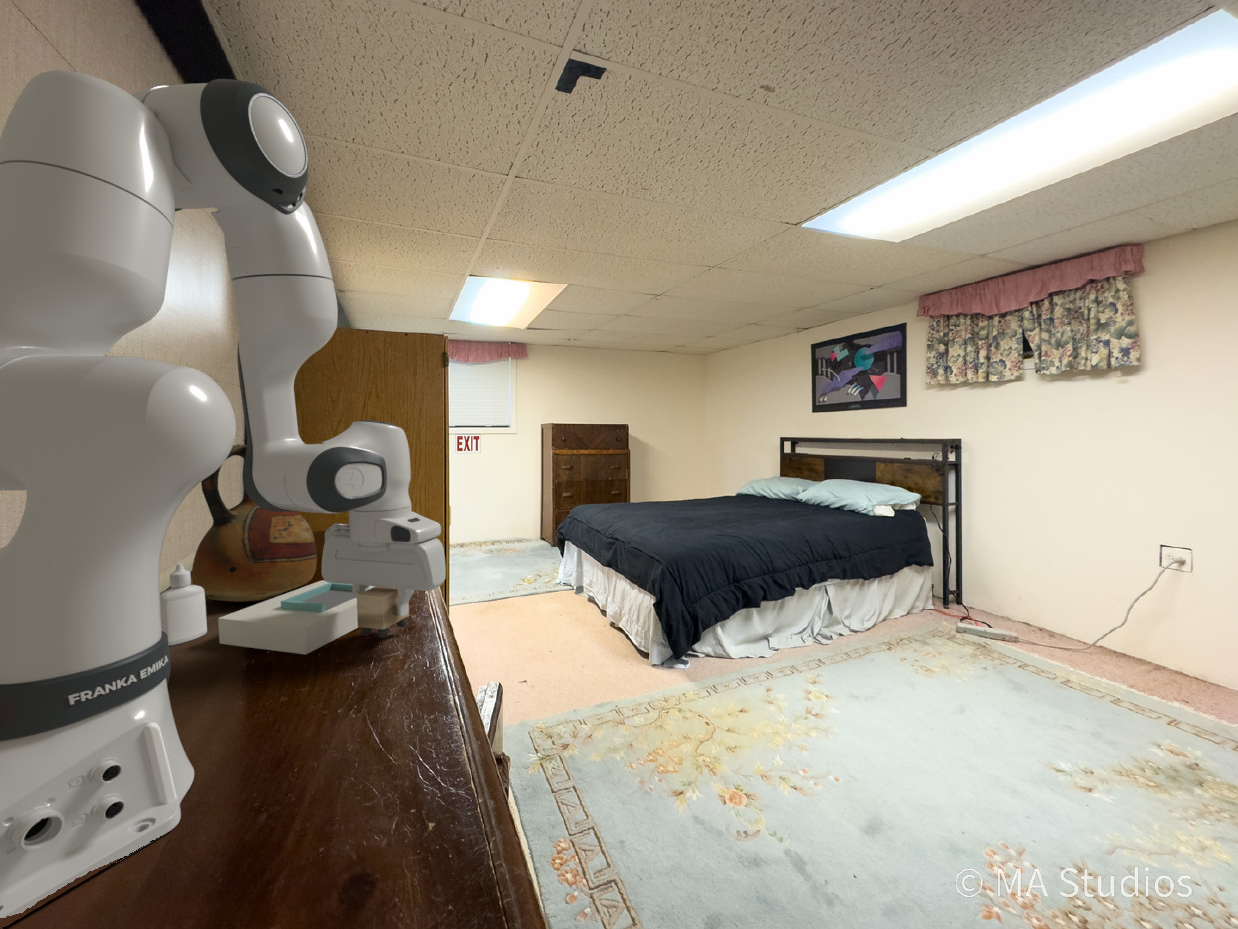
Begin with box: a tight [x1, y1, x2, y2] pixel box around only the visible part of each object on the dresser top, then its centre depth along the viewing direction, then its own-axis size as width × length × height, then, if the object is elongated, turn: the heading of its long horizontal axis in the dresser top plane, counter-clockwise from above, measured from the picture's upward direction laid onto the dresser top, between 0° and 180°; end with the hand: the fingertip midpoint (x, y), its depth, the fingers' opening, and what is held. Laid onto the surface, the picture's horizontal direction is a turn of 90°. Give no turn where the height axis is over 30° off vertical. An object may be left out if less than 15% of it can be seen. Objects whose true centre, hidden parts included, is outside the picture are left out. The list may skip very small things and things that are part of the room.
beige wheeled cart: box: [357, 587, 410, 639], centre depth 81 cm, size 6×5×7 cm
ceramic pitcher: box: [191, 443, 318, 603], centre depth 101 cm, size 20×20×30 cm
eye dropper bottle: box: [160, 563, 208, 647], centre depth 80 cm, size 4×6×12 cm
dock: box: [217, 580, 376, 655], centre depth 87 cm, size 20×16×5 cm
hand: (383, 613), depth 81 cm, fingers closed on beige wheeled cart, 5 cm apart
